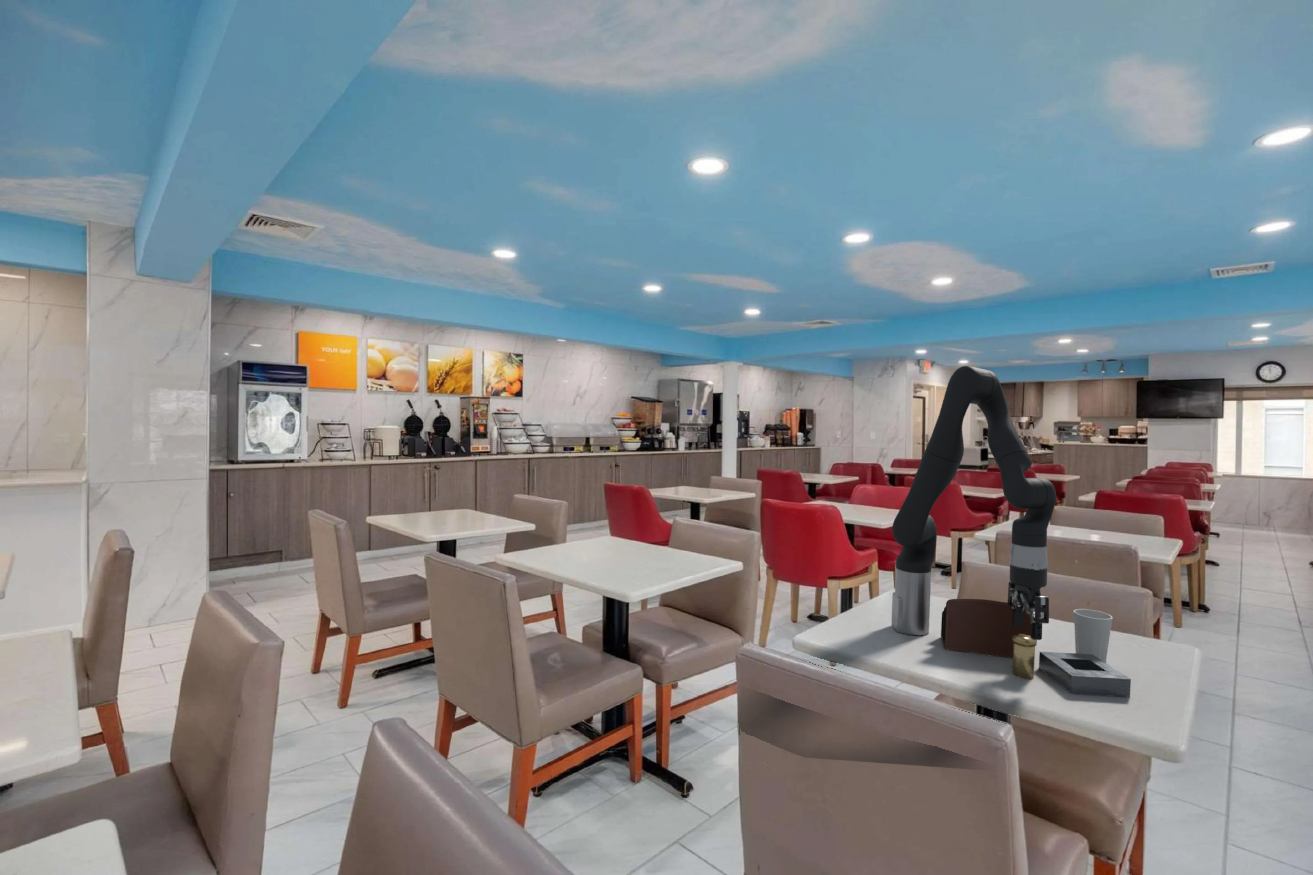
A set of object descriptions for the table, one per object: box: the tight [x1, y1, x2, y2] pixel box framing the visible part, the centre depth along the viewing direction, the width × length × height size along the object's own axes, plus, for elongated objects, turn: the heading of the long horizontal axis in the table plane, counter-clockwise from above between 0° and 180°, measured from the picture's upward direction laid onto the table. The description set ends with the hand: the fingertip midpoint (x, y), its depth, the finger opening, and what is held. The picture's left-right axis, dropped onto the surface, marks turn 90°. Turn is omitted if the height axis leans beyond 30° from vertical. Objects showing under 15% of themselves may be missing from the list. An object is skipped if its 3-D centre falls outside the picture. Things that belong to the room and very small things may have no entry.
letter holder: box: [940, 598, 1031, 660], centre depth 163 cm, size 10×20×14 cm, turn 71°
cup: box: [1072, 608, 1113, 663], centre depth 156 cm, size 8×8×12 cm
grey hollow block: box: [1038, 651, 1132, 698], centre depth 144 cm, size 12×14×4 cm
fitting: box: [1011, 634, 1038, 680], centre depth 147 cm, size 5×5×9 cm
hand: (1026, 632), depth 147 cm, fingers open, 8 cm apart
